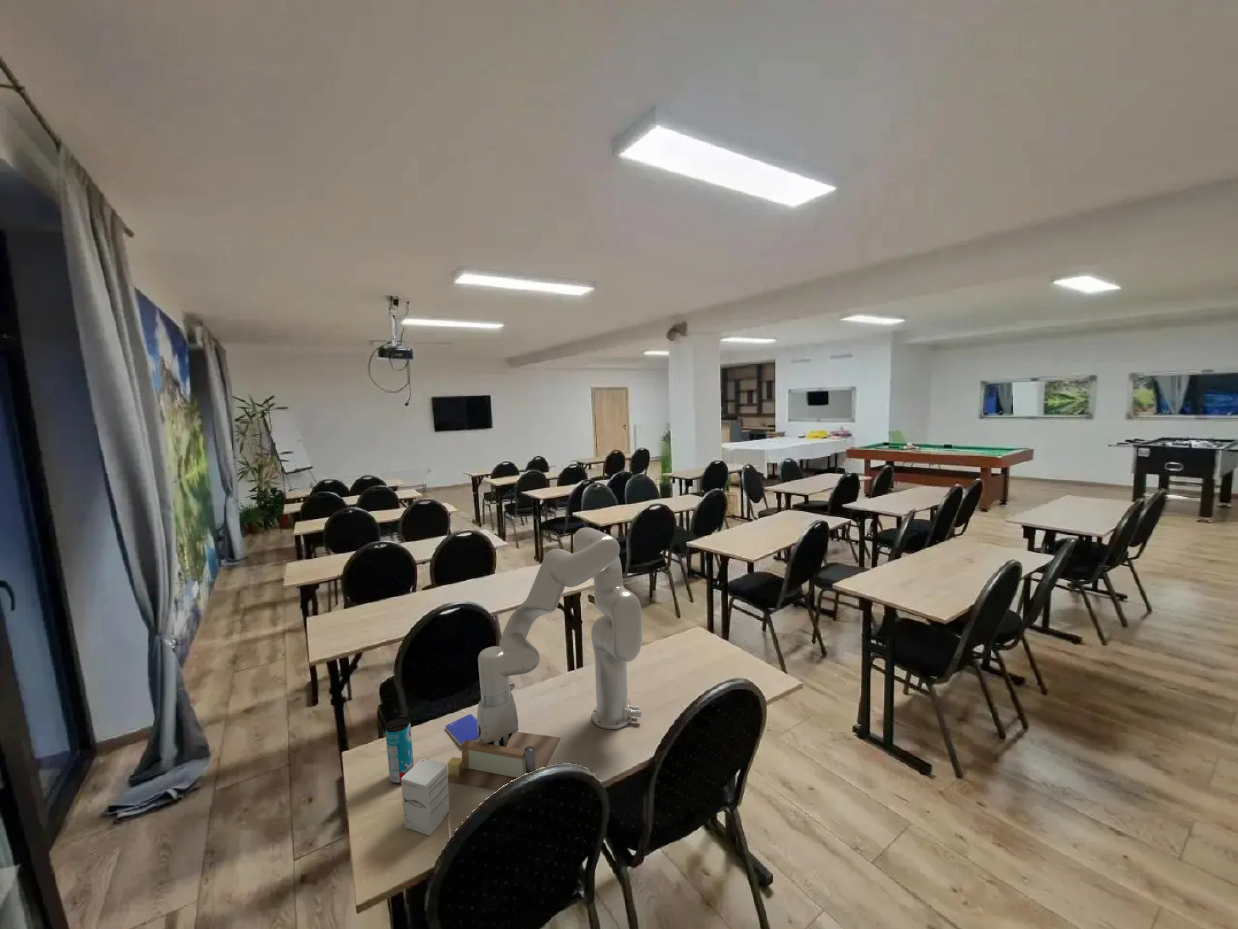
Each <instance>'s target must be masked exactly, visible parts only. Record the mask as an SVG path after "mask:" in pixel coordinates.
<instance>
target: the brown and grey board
mask: <svg viewBox="0 0 1238 929" xmlns="http://www.w3.org/2000/svg"><path fill="white" fill-rule="evenodd" d="M460 747H461V758H462V759H464V768H466V769H474V770H480V771H485V772H490V773H496V774H501V775H506V776H512V777H517V778H518V777H520V776H522V775H524V774H525V773H526V771H525V750H521V749H515V748H509V747H503V746H497V745H492V744H486V745H484V746H482V747H481V746H480V745H479V742H474V741H468V740H464V742H463V743H462V744H461V746H460Z"/></svg>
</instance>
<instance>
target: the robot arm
mask: <svg viewBox="0 0 1238 929" xmlns="http://www.w3.org/2000/svg"><path fill="white" fill-rule="evenodd" d="M573 545H574V548H575V550H576V551H577V552H575V553H572V552H570V551H568V550H566V549H562V548H552V549H551V550H548V552H546V554H545V556H544V557H543V559H542V562H541V564H540V566H539V569H538V572H537V574H536V576H535V579H534V581H533V583H532V586H531V588H530V590H529V593H528V595H527V597H526V599H525V600H524V601H523V602H521V604H519V606H518V607H517V608H516V609H515V610H514V612H513V613H512V614H511V615H510V617H509V619H508V620H507V622H506V625H505V627H504V630H503V631H502V634H501V638H500V641H499V646H497V645H496V646H495V645H494V646H489V647H486V648H484V649H482V650H481V651H480V652H479V654H478V656H477V662H478V664H477V665H478V673H479V674H478V676H479V686H480V687H479V688H480V700H479V702H478V704H477V711H476V719H477V733H478V736H480V741H479V745H480V746H481V747H482V746H484V745H486V744H492V745H497V746H503V747H506V745H507V744H508V740H509V739H510V737H511V736H512V734H514V733H515V732H519V717H518V710H517V706H516V702H515V699H514V695H513V693H512V691H513V690H514V689H515V688H516V686H515V683H510V677H511V676H518V675H520V676H521V675H525V674H528V673H531V672H533V671H534V670H535V669H536V668H538V666H539V664H540V659H541V658H540V656H541V655H540V653H539V651H538V650H537V648H536V647H535V646H534V645H533V644H532V643H531V642H530V641H529V640H528V639H527V637H528V635H529V633H530V630H531V627H532V626H533V625H534V623H535V621H536V620H538V618H540V617H541V616H543V615H546V614H551V613H553V612H555V611H556V610H557V608H558V605H559V603H560V601H561V598H562V595H563V592H564V590H565V589H566V588H574V587H578V586H580V585H582V584H583V583H586V582H587V581H588V580H591V579H592V578H593V594H594V599H593V600H594V606H595V608H596V610H597V611H598V612H600V613H601V614H602V616H599V617H598V618H597V619H596V620H594V622H593V624H592V627H591V630H590V631H591V632H590V635H591V636H590V637H591V645H592V649H593V654H594V664H595V665H594V668H595V670H594V671H595V696H596V698H595V699H596V706H595V707H594V708H593V710H592V712H591V720H592V722H593V723H594V724H595V725H596V726H597V727H599V728H602V729H605V730H617V729H618V730H619V729H621V728H624V727H626V726H628V725H629V724H630V723H631V722H632V720H633V718H634V717H637V718H642V715H643V710H642V709H641V710H640V705H633V704H631V699H630V698H628V667H627V665H628V664H627V663H629V662H632V661H633V660H635V659H636V658H637V657H638V656H639V654H640V652H641V648H642V643H643V642H642V641H643V623H642V622H643V621H642V620H643V618H642V617H643V616H642V605H641V601H640V600H639V598H638V597H637V595H636V594H634V593H633V591H631V590H628V589H626V588H625V586H624V581H623V569H622V568H623V566H622V563H621V558H620V556H619V555H620V551H621V545H620V544H619V542H618V540H617V539H616V538H615V537H614V536H612V535H611V534H608V533H605V532H603V531H601V530H598V529H595V528H592V527H588V526H587V527H582V528H579V529H578V530H577V531H575V533H574V537H573ZM498 738H500V741H498Z"/></svg>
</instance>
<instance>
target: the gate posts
mask: <svg viewBox="0 0 1238 929" xmlns="http://www.w3.org/2000/svg"><path fill="white" fill-rule="evenodd" d="M446 765H447V775H448V778H454V779H460V778H461V777H462V776H463V774H464V759H462V757H457V756H456V757H454V756H452V757H451V758H450V759H449V761H448V762H447V763H446ZM525 767H526V773H530V772H533V771H535V755H534V747H533V746H528V747H526V748H525Z"/></svg>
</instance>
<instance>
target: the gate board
mask: <svg viewBox="0 0 1238 929" xmlns="http://www.w3.org/2000/svg"><path fill="white" fill-rule="evenodd" d="M561 739H562V737H561V736H560V737H559V736H551V735H543V734H537V733H536V734H535V733H530V732H519V731H517V732H515V733H514V734H512V736H511V737H510V739H509V740H508V744H507V745H506V747H509V748H515V749H521V750H525V748H526V747H528V746H533V747H534V755H535V770H536V769H539V768H541V767H545V768H546V767H547V765H548V764H549V761H550V760H551V758H552V756H553V754H554V752H555V751H556V748H557V746H558V745H559V742H561V741H560V740H561ZM498 741H500V738H498ZM478 742H479V741H478ZM525 771H526V767H525ZM516 778H517V777H512V776H506V775H501V774H496V773H490V772H485V771H480V770H474V769H466V768H464V774H463V776H462V777H461V778H460V779H454V778H448V784H455V785H460V786H461V785H462V786H465V787H466V786H467V787H474V788H479V789H480V788H481V789H485V790H491V791H497V790H498V789H499V788H501V787H502V786H503V785H505V784H507V783H509V782H510V781H511V780H514V779H516Z"/></svg>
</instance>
